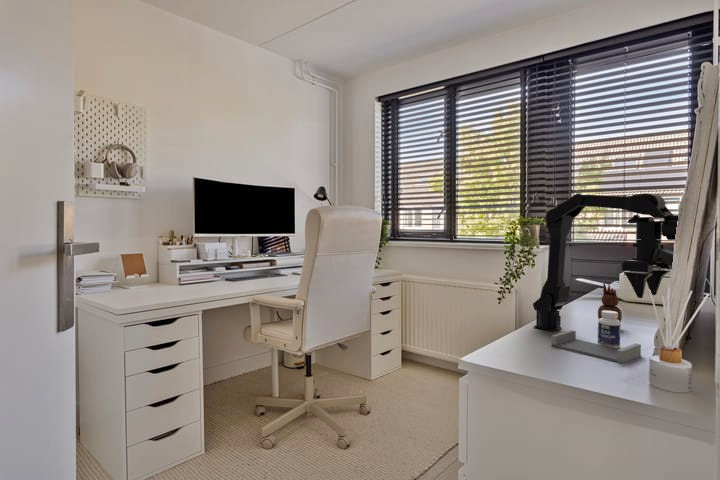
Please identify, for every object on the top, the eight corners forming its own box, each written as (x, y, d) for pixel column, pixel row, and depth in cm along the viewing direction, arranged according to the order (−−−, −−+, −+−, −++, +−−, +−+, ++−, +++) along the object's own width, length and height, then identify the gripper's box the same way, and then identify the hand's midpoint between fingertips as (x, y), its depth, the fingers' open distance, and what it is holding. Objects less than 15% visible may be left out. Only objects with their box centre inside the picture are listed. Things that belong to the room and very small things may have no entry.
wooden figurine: (594, 326, 139) (595, 282, 138) (605, 324, 141) (606, 281, 141) (613, 330, 133) (614, 285, 132) (624, 329, 135) (625, 284, 135)
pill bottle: (598, 346, 114) (599, 312, 113) (597, 342, 118) (597, 309, 118) (620, 349, 111) (621, 314, 111) (618, 344, 116) (619, 311, 116)
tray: (551, 346, 114) (551, 335, 114) (571, 340, 120) (571, 330, 120) (622, 363, 99) (622, 351, 99) (640, 355, 106) (640, 344, 106)
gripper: (671, 240, 99) (669, 304, 99) (696, 240, 110) (695, 297, 110) (621, 239, 108) (619, 297, 108) (649, 239, 119) (647, 292, 119)
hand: (647, 296), depth 111 cm, fingers open, 9 cm apart
